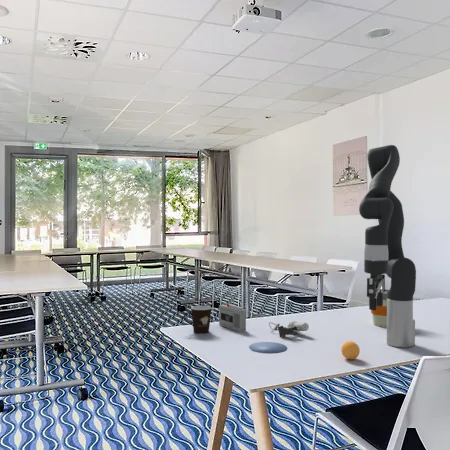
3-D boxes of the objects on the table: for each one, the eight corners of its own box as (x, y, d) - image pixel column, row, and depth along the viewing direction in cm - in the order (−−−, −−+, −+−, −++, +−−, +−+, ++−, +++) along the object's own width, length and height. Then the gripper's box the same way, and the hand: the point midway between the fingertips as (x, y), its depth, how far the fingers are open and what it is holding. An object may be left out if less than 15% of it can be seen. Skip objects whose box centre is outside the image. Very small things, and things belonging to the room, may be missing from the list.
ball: (352, 355, 158) (353, 338, 158) (363, 360, 153) (363, 343, 153) (337, 357, 157) (337, 339, 157) (347, 362, 151) (347, 344, 151)
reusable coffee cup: (405, 326, 202) (405, 292, 201) (382, 329, 197) (382, 294, 197) (385, 320, 213) (385, 288, 213) (363, 322, 209) (363, 290, 208)
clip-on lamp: (264, 338, 193) (292, 338, 178) (260, 323, 193) (288, 322, 179) (284, 332, 199) (313, 331, 185) (281, 317, 200) (309, 315, 185)
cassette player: (219, 325, 204) (219, 302, 204) (224, 324, 206) (224, 302, 206) (240, 332, 192) (240, 308, 191) (245, 331, 193) (245, 307, 193)
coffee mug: (211, 329, 196) (211, 305, 196) (211, 334, 188) (211, 309, 188) (184, 329, 196) (184, 306, 196) (183, 334, 187) (183, 310, 187)
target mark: (277, 341, 177) (277, 340, 177) (293, 351, 164) (293, 350, 164) (243, 344, 173) (243, 343, 173) (257, 354, 160) (257, 354, 160)
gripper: (370, 256, 158) (370, 303, 158) (358, 259, 146) (358, 310, 146) (392, 257, 154) (392, 305, 154) (383, 260, 142) (382, 312, 142)
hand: (376, 307), depth 150 cm, fingers open, 8 cm apart
